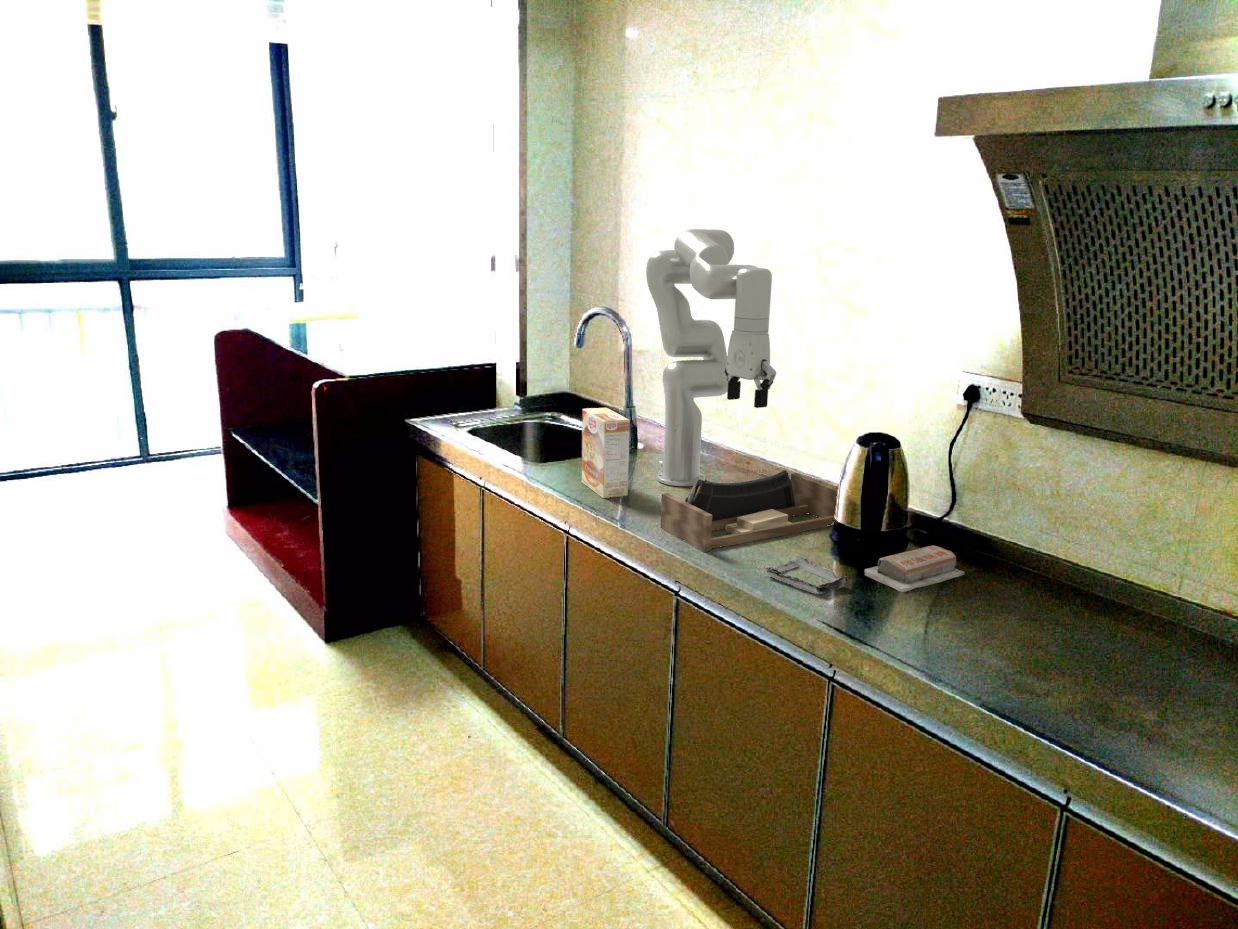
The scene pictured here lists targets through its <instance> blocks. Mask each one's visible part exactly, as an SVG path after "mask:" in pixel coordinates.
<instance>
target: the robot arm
mask: <svg viewBox="0 0 1238 929" xmlns="http://www.w3.org/2000/svg"><path fill="white" fill-rule="evenodd" d="M734 254H735V243H734V239H733V238H732V236H731V234H730V233H729V232H727V231H725V230H723V229H707V228H706V229H705V228H704V229H703V228H701V229H698V228H697V229H696V228H695V229H694V228H692V229H687V230H685V231H682V232H681V233H680V234H678V236H677V237H676V239H675V240H674V249H668V250H667V249H665V250H660V251H657V252H655V253H652V254H651V255H650V256H649V258H648V259H647V263H646V270H645V271H646V274H645V275H646V276H645V277H646V283H647V286H648V290H649V293H650V294H651V298H652V300H653V302H654V305H655V308H656V312H657V318H658V323H659V330H660V337H661V341H662V346H663V350H664V351H665V354H666V355H667V356H669V357H671V358H672V357H673V358H702V359H686V360H677V361H676V360H675V361H673V362H670V363H669V364H667V365H666V366H665V368H663V372H662V384H663V385H662V386H663V394H664V406H665V407H664V440H663V443H664V444H663V459H662V460H661V459H660V460H659V461H658V465H659V466H661V471H660V472H658V473H657V474H656V480H657V481H658V482H660V483H661V484H664V485H668V486H675V487H693V486H694V485H695V484H697V481H698V480H699V479H701V480H704V481H705V479H706V477H705V474H702V473H701V472H700V466H701V465H700V462H701V446H702V445H701V442H702V426H703V424H702V423H703V419H702V418H703V417H702V411H701V409H700V407H698V404H696V402H695V400H694V399H696V398H708V397H711V398H712V397H720V396H723V395H725V394H726V393H727V394H726V395H727V396H726V398H727V400H729V401H730V400H731V401H733V400H740V398H741V386H742V385H741V383H742V382H741V381H740V379H744V380H747V381H753V382H754V384H755V387H756V388H757V389H755V390H754V400H753V403H754V404H753V407H754V408H755V409H760V408H767V407H768V401H769V400H768V399H769V398H768V397H769V390H771V386H772V385H773V383H774V380H775V378H776V375H777V371H776V370H775V368H773V367H772V366H771V346H770V341H771V340H770V334H769V326H770V314H771V313H770V311H771V298H772V297H771V296H772V284H773V282H772V280H773V275H772V272H771V270H770V269H768V268H764V267H758V266H756V265H751V264H730V262H731V261H732V259H733V257H734ZM675 284H677V285H679V284H680V285H681V284H682V285H685V284H686V285H690V284H691V286H692V288H693V289H694V290H695V292H697V293H698V294H700V295H701V296H702V297H704V298H705V299H709V300H734V302H735V303H734V319H733V320H734V321H733V330H731V334H730V337H729V343H728V347H727V348H728V349H727V348H726V342H725V337H724V333H723V330H722V328H721V326H720V325H719V324H718V323H717V322H715V321H714V320H709V319H694V318H693V316H692V312H691V306H690V303H689V300H688V299H687V297H686V296H685V295H684V293H683V292H682V291H681V290H679V288H678V287H676V285H675ZM761 381H762V382H761ZM705 482H706V481H705Z"/></svg>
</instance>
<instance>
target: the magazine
mask: <svg viewBox="0 0 1238 929" xmlns="http://www.w3.org/2000/svg"><path fill="white" fill-rule="evenodd" d="M789 476H790V475H789V472H788V471H787V470H786V469H784V470H782V471H780V472H779V473H775V474H773V475H770V476H766V477H762V478H757V479H751V480H747V481H741V482H728V483H727V482H711V481H704V480H701V479H699V480H698V481H697V484H695V485H694V486H692V488H691V490H690V493H689V495H688V496H687V497H686V498H685V499H684V501H685V502H687V503H689V504H691V505H693V506H695V507H697V508H699V509H701V510H703V511H705V512H707V513H709V514H711V515H712V521H716V520H721V519H727V518H733V517H738V516H744V515H749V514H753V513H757V512H761V511H765V510H770V509H774V510H778V509H784V508H789V507H795V500H794V494H793V488H792V482H791V477H789Z"/></svg>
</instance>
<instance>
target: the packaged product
mask: <svg viewBox="0 0 1238 929" xmlns="http://www.w3.org/2000/svg"><path fill="white" fill-rule="evenodd" d="M956 566H957V556H956V555H955V553H954V552H952V551H951V550H948V549H946V548H943V547H940V546H937V545H933V544H932V545H928V546H924V547H923V546H922V547H919V548H915V549H912V550H907V551H903V552H899V553H895V554H892V555H887V556H883V557H880V558H879V559H878V561H877V566H872V567H869V568H865V569H864V576H865V577H868V578H870V579H872V580H875V581H876V582H878V583H880V584H884V585H885V586H887V587H890V588H893V589H895V590H896V591H898V592H900V593H906V592H909V591H911V590H914V589H917V588H923V587H926V586H929V585H930V586H931V585H934V584H938V583H942V582H945V581H947V580H951V579H954V578H959V577H962V576H964V575H965V571H963V570H960V569H958V568H956Z"/></svg>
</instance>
